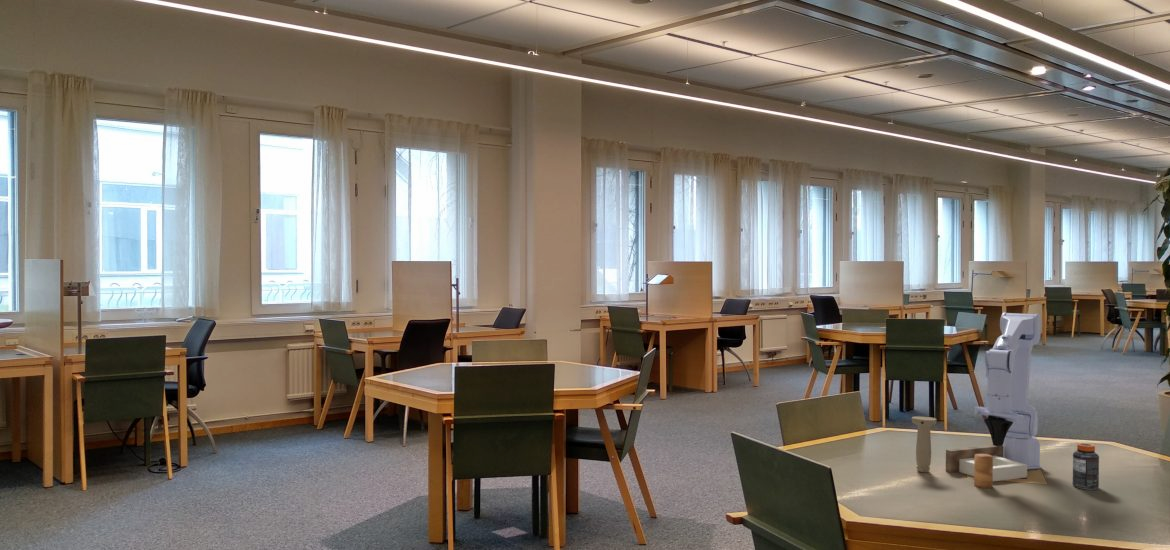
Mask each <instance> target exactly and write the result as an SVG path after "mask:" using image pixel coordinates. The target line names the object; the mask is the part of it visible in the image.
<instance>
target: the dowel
mask: <svg viewBox="0 0 1170 550" xmlns="http://www.w3.org/2000/svg"><path fill="white" fill-rule="evenodd" d="M993 482H994V481H993V456H991V455H988V454H975V459H974V476H973V486H974V487H976V488H982V489H992V488H993V486H994V485H993Z"/></svg>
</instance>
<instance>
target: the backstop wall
mask: <svg viewBox="0 0 1170 550" xmlns="http://www.w3.org/2000/svg"><path fill="white" fill-rule="evenodd" d="M975 454H988V455H991V456H999V457H1002V458H1003V446H994V445H993V444H990V445H978V446H969V447H968V446H966V447H960V448H959V447H958V448H949V449H945V471H946V472H949V473H958V472H959V459H967V458H975ZM959 473H960V472H959Z"/></svg>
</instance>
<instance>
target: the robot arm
mask: <svg viewBox="0 0 1170 550" xmlns="http://www.w3.org/2000/svg"><path fill="white" fill-rule="evenodd" d="M999 328H1000V332H1001V335H1000V336H998V337H997V339H996V340H995V342H994V345H993V347H992V348H990V349H989V350H986V352H985V354H984V368H985V377H986V378H987V380H986V381H987V382H986V383H987V385H986V386H987V387H986V388H987V389H986V407H985V406H974V412H973V413H974V414H975V415H981V416H984V417H985V416H986V417H987V418H983V421H984V424H985V425H986V427H987V429H988V432H989V434H990V437H991V442H992V445H994V446H1003V458H1006V459H1009V460H1013V461H1016V462H1020V463H1023V464H1027V471H1028V470H1036V469H1037V470H1038V469H1042V468H1043V466H1042V465H1041V464H1040V463H1041V462H1040V461H1041V460H1040V459H1041V445H1040V441H1039V440H1038V438H1037V437H1036V435H1037V433H1038V430H1039V419H1038V416H1039V413H1038V410H1037V409H1036V408H1035V407H1034V406H1033V405H1031V403H1029V402H1028V400H1029V387H1030V385H1029V384H1030V376H1031V373H1030V371H1031V361H1032V359H1031V358H1032V357H1031V356H1032V351H1033V347H1034V346H1035V345H1038V344H1039V343H1040V341H1041V334H1042V319H1041V315H1040V314H1039V313H1018V312H1017V313H1015V312H1014V313H1012V312H1005V311H1004V312H1003V313H1002V314H1001V315H1000V319H999Z"/></svg>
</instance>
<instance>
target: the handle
mask: <svg viewBox="0 0 1170 550" xmlns="http://www.w3.org/2000/svg"><path fill="white" fill-rule="evenodd" d="M911 422H912V424H914V425H916V426H917V435H916V447H915V459H916V465H917V466H916V471H917V472H921V473H925V474H926V473H929V472H930V469H931V464H932V463H931V462H932V442H931V441H932V440H931V439H932V438H931V429H932V427H934V426H935V425H936V424H937V418H935V417H929V416H918V415H917V416H912V417H911Z"/></svg>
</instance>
